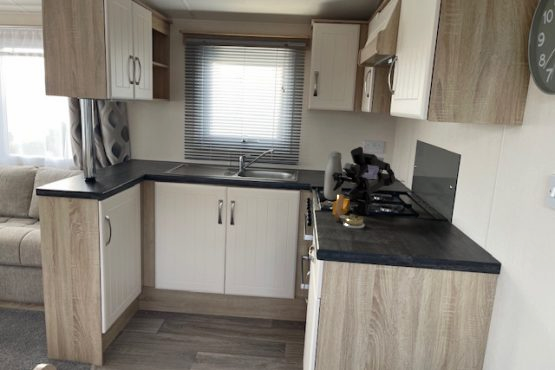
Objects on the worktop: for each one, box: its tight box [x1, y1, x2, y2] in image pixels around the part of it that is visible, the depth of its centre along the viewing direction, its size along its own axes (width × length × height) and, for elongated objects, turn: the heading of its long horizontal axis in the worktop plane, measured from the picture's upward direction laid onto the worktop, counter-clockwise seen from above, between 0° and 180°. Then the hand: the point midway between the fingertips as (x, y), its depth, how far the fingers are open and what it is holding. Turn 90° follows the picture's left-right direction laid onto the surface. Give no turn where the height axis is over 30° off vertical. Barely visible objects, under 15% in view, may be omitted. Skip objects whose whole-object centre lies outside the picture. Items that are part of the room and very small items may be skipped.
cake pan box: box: [362, 156, 384, 180], centre depth 306 cm, size 19×5×18 cm, turn 84°
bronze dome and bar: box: [334, 193, 365, 226], centre depth 181 cm, size 14×8×12 cm, turn 51°
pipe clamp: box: [332, 197, 351, 216], centre depth 201 cm, size 12×4×6 cm, turn 141°
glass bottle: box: [323, 150, 344, 201], centre depth 227 cm, size 10×10×28 cm
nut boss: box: [342, 220, 366, 230], centre depth 180 cm, size 10×10×1 cm
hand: (341, 192), depth 186 cm, fingers open, 9 cm apart
